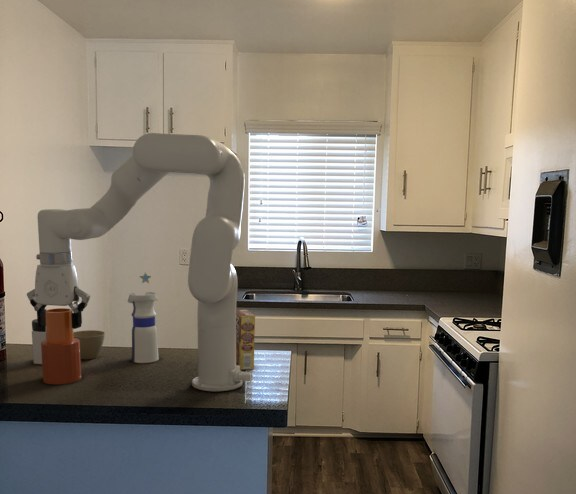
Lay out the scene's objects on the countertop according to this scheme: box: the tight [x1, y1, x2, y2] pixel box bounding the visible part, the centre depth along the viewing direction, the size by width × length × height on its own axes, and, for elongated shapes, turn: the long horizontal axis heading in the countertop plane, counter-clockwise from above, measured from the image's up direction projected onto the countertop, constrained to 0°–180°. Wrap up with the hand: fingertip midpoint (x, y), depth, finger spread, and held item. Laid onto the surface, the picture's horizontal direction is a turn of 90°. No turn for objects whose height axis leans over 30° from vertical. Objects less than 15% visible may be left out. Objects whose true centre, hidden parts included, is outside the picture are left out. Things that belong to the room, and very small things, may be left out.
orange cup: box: [45, 307, 75, 344], centre depth 159 cm, size 6×6×8 cm
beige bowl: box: [73, 330, 106, 360], centre depth 183 cm, size 10×10×7 cm
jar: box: [31, 318, 46, 366], centre depth 177 cm, size 9×8×12 cm
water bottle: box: [127, 272, 160, 364], centre depth 179 cm, size 8×9×25 cm
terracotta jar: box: [41, 338, 82, 385], centre depth 160 cm, size 9×9×10 cm
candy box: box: [236, 309, 256, 371], centre depth 174 cm, size 9×4×15 cm, turn 16°
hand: (59, 326), depth 159 cm, fingers open, 9 cm apart
